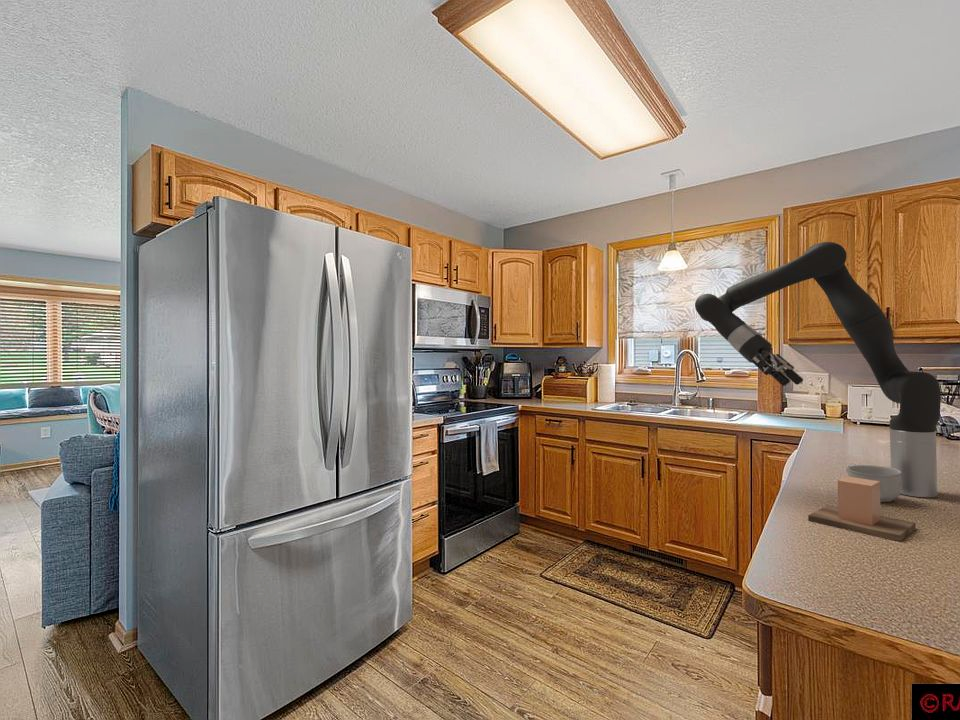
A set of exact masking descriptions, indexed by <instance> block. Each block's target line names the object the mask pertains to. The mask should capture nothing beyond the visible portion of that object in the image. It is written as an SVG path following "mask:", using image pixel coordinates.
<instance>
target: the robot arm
mask: <svg viewBox="0 0 960 720" xmlns="http://www.w3.org/2000/svg"><path fill="white" fill-rule="evenodd" d="M847 257H848V256H847V251H846V249H845V248H844V246H842V245H841V244H839V243H837V242H833V241H825V242H824V241H823V242H818V243H815V244H813V245H811V246H809V247H808V248H807V250H806V251H805V252H804V253H803V254H802V255H799V256H798V257H797V258H794V259H793V260H791V261H789V262H787V263H785V264H783V265H781V266H778V267H776V268H773V269H770V270H768V271H765V272H762V273H759V274H757V275H754V276H751V277H748V278H746V279H744V280H742V281H739V282H737V283H735V284H733V285H731V286H729V287H728V288H726V292H725V293H723V294H721V296H719V297H717V296H716V295H715V294H712V293H704V294H701V295H700V296H698V297H697V298H696V300H695V303H694V309H695V311H696V312H697V314H698V316H699V317H700V319H702V320H703V321H706V322H709V324H711V325H712V326H713V327H714V328H715V330H716V331H717V332H718V334H720V336H722V337H723V338H724V339H725V340H726V341H727V342H728V343H729V344H730V346H731V347H733V349H734V350H736V351H737V352H738V353H739V354H740V355H741V357H743V358H744V359H745V360H746V361H748V363H751V364H752V363H753V365H755V367H757V368H758V369H759V370H760V371H761V373H763V374H764V375H765V376H768V375H769V377H770V378H771V377H772V378H773V379H774V380H775V381H777V382H778V383H779V384H780V385H781V386H782V387H785V386H788V385H789V384H790V382H793V384H795V385H796V386H797V385H798V386H799V385H800V384H801V383H802V382H803V381H804V378H803V377H801V375H799V374H798V373H797V372H796V371H795V370H794V369H795V367H794V366H793V365H792V364H791V363H790V362H788V360H786V359H785V358H784V357H782V356H781V355H780V354H779V353H776V354H775V353H772V352H771V350H772V347H773V345H772V343H771V342H769V341H768V339H767V338H765V337H764V336H763V335H762V334H760V333H759V332H758V331H757V330H755V328H753V327H751V326H750V325H749V324H747V323H746V322H745V321H744V320H742V319H741V318H740V317H739V316H737V315H736V314H735V313H734V311H736V310H738V309H739V308H741V307H743V306H746V305H749V304H751V303H753V302H756V301H758V300H761V299H763V298H765V297H767V296H769V295H772V294H774V293H777V292H779V291H781V290H783V289H786V288H788V287H789V286H793V285H795V284H798V283H800V282H804V281H808V280H810V279H813V280H814V281H815V282H816V283H817V285H819V287H820V288H821V290H822V291H823V292H824V293H825V295H826V297H827V299H828V302H829V303H830V305H831V307H832V309H833V311H834V313H835V315H836V316H837V318H838V319H839V321H840V323H841V325H842V326H843V328H844V329H845V331H846V332H847V334H848V335H849V337H850V338H851V340H852V341H853V343H854V344H855V345H856V347H857V348H858V350H859V351H860V354H861V355H862V356H863V358H864V359H865V361H866V363H867V365H868V366H869V368H870V369H871V372H872V373H873V375H874V377H875V379H876V381H877V383H878V385H879V388H880V389H881V391H882V392H883V394H884V396H885V397H886V398H887V399H888V400H890V401H891V402H893V403H896V404H899V411H898V413H897V415H896V416H895V417H891V418H890V419H889V444H890V445H889V449H890V450H889V451H890V452H889V453H890V456H889V457H890V468H894V469H897V470H899V471H901V494H900V495H903V496H909V497H910V496H911V497H915V498H916V497H918V498H937V497H938V462H937V461H938V459H937V458H938V456H937V425H938V423H939V422H940V418H941V404H942V403H941V402H942V399H941V398H942V394H941V386H940V383H939V381H938V379H937V378H936V377H935V375H932V374H930V373H928V372H925V371H912V370H911V371H910V370H909V369H908V368H907V367H906V366H905V364H904V363H903V362H902V360H901V359H900V358H899V356H898V354H897V352H896V349H895V344H894V343H895V341H894V332H893V326H892V324H891V322H890V321H889V319H888V318H887V316H886V314H885V313H884V311H883V310H882V308H881V307H880V306H879V305H878V303H877V301H875V300H874V299H873V297H871V296H870V294H869V293H868V292H866V290H865V289H863V288H862V287H861V286H860V285H859V284H858V283H857V281H855V279H854V278H853V276H852V275H851V273H850V272H849V269H848V268H847V266H846V265H845V263H846V261H847V259H848V258H847Z"/></svg>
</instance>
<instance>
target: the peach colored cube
mask: <svg viewBox="0 0 960 720" xmlns="http://www.w3.org/2000/svg"><path fill="white" fill-rule="evenodd" d="M837 499H838V500H837V507H838V515H839V518H840V519H845V520H849V521H854V522H859V523H863V524H868V525H874V524H875V523H877V522H878V521H879V520H881V516H882V515H881V502H880V481H874V480H868V479H861V478H855V477H849V476H848V475H846V476H843V478H839V479H838V480H837Z"/></svg>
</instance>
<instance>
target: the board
mask: <svg viewBox="0 0 960 720" xmlns="http://www.w3.org/2000/svg"><path fill="white" fill-rule="evenodd" d="M807 518H808V519H807V520H808V521H810V522H815V523H817V522H818V524H822V523H823V524H822V525H826V526H831V527H836V528H839V529H843V528H845V530H848V529H850V530H849V531H852V530H854V531H853V532H856V531H858V532H857V533H861V532H862V534H865V533H866V535H869V534H870V536H874V537H878V536H879V538H883V539H888V540H891V541H898V542H901V541H902V540H903V539H904V538H906V537H907V536H908V535H909V534H910V532H911V531H912V532H913V531H914V530H915V529H916V522H914V521H908V520H903V519H898V518H894V517H889V516H883V515H881V520H879V521H878V522H877V523H875V524H874V525H868V524H863V523H859V522H854V521H849V520H845V519H840V518H839V515H838V506H834V505H829V504H828V505H826V506H824V507H821V508H819V509H818V510H816V511H814V512H812V513H810V514H808V516H807ZM912 532H911V533H912Z"/></svg>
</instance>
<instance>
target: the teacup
mask: <svg viewBox="0 0 960 720" xmlns="http://www.w3.org/2000/svg"><path fill="white" fill-rule="evenodd" d="M846 474H847V476H848V477H855V478H861V479H868V480H874V481H880V503H888V502H892V501H894V500H895V499H898V498H899V497H900V496H901V495H902V494H901V471H899V470H897V469H894V468H891V466H890V467H889V466H884V465H877V464H876V465H875V464H854V463H852V464H848V465H847V467H846Z"/></svg>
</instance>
